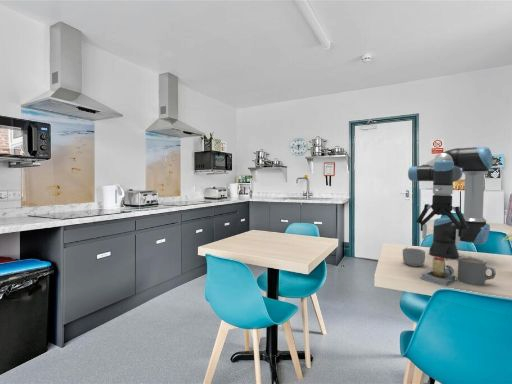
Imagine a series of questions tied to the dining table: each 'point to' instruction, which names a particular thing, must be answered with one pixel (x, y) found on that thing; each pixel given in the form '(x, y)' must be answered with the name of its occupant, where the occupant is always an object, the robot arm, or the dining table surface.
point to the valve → (438, 267)
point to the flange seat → (447, 281)
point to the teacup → (413, 256)
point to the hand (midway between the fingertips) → (440, 241)
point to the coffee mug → (473, 271)
